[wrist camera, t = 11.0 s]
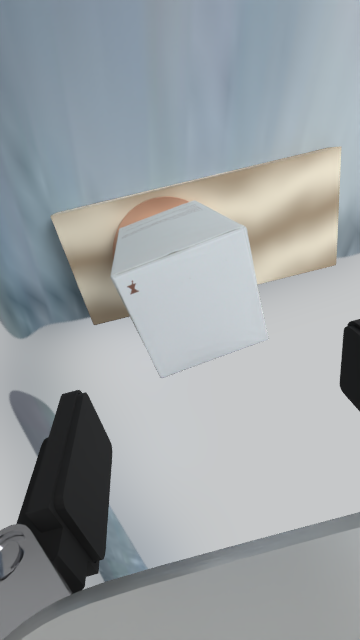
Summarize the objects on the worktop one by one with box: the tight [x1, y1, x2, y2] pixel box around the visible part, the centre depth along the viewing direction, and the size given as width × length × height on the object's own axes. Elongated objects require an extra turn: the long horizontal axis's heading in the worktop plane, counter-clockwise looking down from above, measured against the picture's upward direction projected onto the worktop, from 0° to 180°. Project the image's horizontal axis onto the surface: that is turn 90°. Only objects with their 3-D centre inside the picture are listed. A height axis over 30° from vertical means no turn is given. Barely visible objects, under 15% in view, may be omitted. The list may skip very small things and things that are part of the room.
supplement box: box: [110, 200, 269, 378], centre depth 22 cm, size 7×7×13 cm
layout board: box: [51, 147, 341, 325], centre depth 29 cm, size 11×26×3 cm, turn 102°
